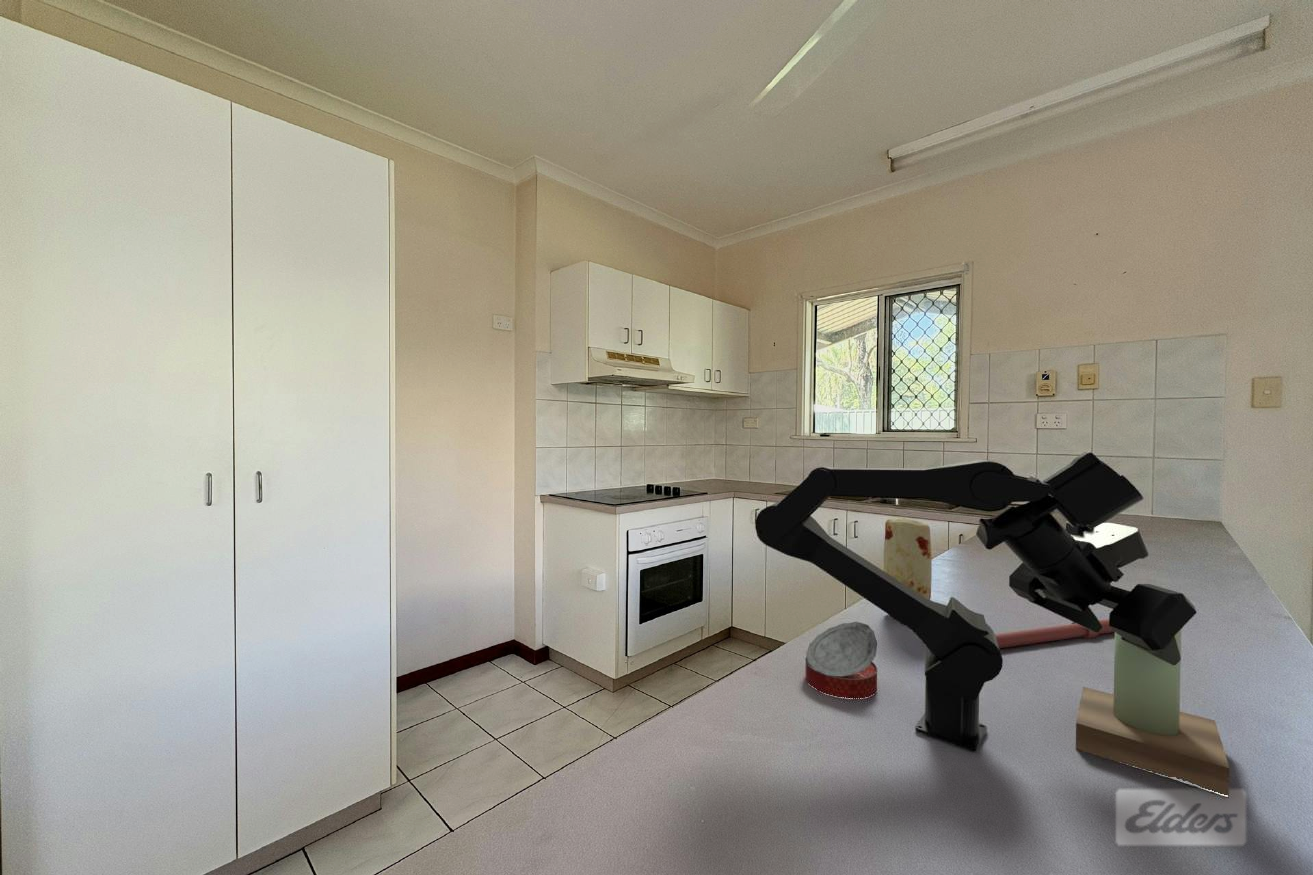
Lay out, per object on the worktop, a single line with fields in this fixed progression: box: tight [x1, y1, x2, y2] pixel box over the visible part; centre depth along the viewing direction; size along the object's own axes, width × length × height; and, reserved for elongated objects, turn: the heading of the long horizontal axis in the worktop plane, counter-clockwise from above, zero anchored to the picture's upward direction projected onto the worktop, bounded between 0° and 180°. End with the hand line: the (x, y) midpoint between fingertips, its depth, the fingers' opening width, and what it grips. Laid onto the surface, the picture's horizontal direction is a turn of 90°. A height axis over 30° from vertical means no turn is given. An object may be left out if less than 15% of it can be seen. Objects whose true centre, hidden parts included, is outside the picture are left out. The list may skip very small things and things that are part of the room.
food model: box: [882, 517, 933, 600], centre depth 102 cm, size 10×7×20 cm
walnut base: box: [1075, 686, 1231, 797], centre depth 61 cm, size 12×12×3 cm
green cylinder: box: [1113, 629, 1182, 736], centre depth 61 cm, size 6×6×13 cm
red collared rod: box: [994, 618, 1115, 649], centre depth 94 cm, size 45×3×3 cm, turn 107°
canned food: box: [804, 621, 878, 699], centre depth 76 cm, size 11×10×10 cm
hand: (1134, 644), depth 61 cm, fingers open, 9 cm apart
